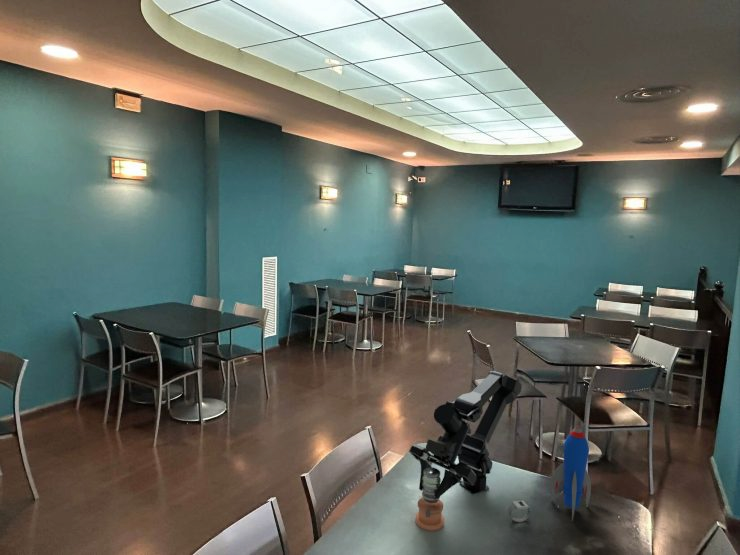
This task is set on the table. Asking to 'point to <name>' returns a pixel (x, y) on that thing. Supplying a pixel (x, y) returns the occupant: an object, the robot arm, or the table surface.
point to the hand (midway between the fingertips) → (428, 493)
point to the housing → (430, 515)
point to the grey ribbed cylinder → (430, 484)
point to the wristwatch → (519, 506)
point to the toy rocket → (573, 470)
